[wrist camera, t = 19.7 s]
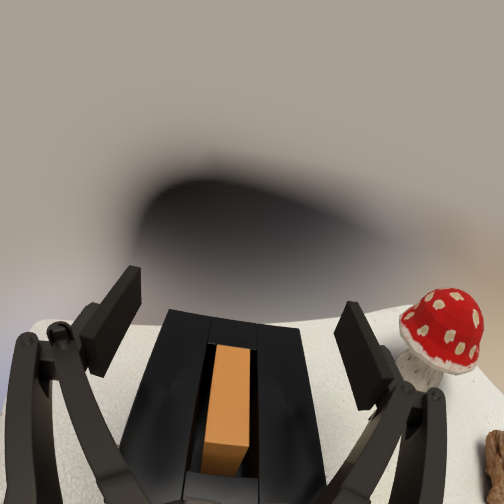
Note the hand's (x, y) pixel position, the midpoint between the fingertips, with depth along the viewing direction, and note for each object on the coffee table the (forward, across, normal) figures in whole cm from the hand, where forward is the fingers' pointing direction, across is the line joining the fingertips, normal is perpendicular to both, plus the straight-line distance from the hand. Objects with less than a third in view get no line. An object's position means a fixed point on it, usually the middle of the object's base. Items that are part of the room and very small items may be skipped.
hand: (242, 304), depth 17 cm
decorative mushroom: (+8, +27, -16) cm, 32 cm away
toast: (-3, 0, -13) cm, 13 cm away
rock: (-14, +36, -16) cm, 42 cm away
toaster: (-3, 0, -16) cm, 16 cm away
